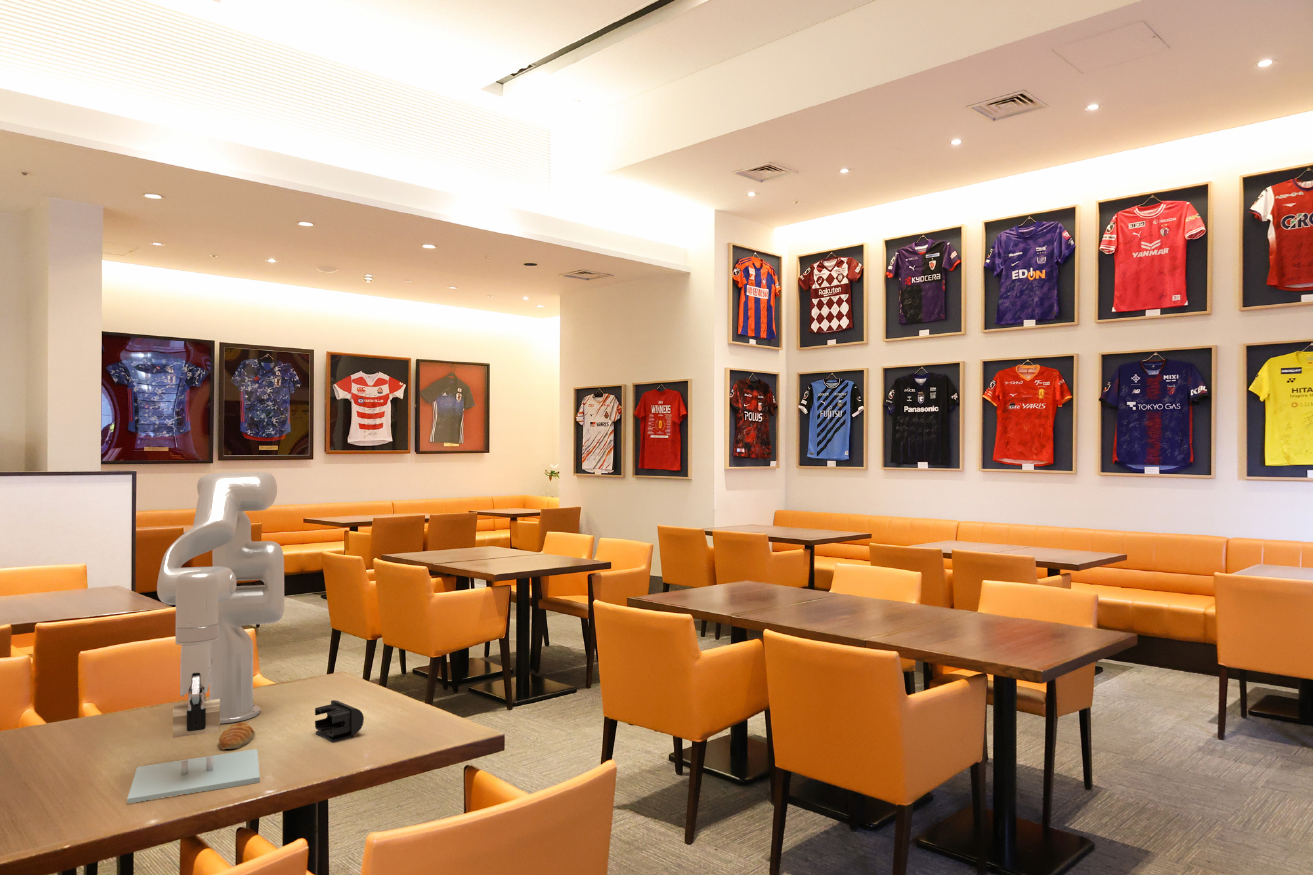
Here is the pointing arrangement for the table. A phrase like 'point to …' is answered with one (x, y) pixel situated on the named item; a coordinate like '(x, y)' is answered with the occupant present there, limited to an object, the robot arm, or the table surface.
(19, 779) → the table surface
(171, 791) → the base plate
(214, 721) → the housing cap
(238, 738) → the pastry
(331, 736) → the end cap
